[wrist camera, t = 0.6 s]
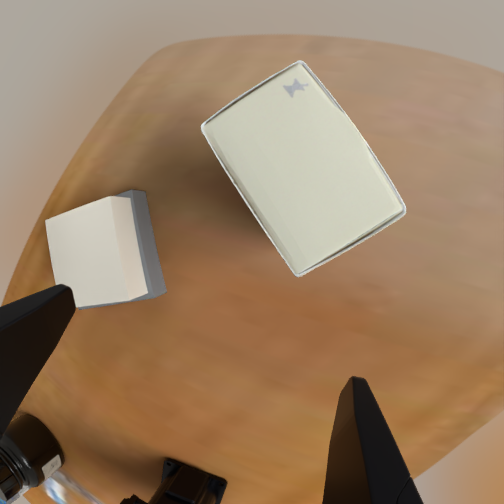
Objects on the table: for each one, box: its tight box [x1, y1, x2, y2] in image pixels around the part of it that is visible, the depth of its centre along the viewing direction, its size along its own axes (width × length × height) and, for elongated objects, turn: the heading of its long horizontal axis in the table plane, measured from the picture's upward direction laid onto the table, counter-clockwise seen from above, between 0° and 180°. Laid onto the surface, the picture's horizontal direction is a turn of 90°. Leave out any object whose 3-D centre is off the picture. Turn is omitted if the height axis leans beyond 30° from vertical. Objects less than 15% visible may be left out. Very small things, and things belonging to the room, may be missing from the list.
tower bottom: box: [78, 190, 167, 310], centre depth 24 cm, size 8×8×2 cm
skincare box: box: [201, 60, 406, 277], centre depth 15 cm, size 6×4×12 cm
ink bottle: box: [0, 415, 64, 502], centre depth 26 cm, size 10×9×12 cm
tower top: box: [45, 196, 148, 307], centre depth 22 cm, size 7×7×2 cm
